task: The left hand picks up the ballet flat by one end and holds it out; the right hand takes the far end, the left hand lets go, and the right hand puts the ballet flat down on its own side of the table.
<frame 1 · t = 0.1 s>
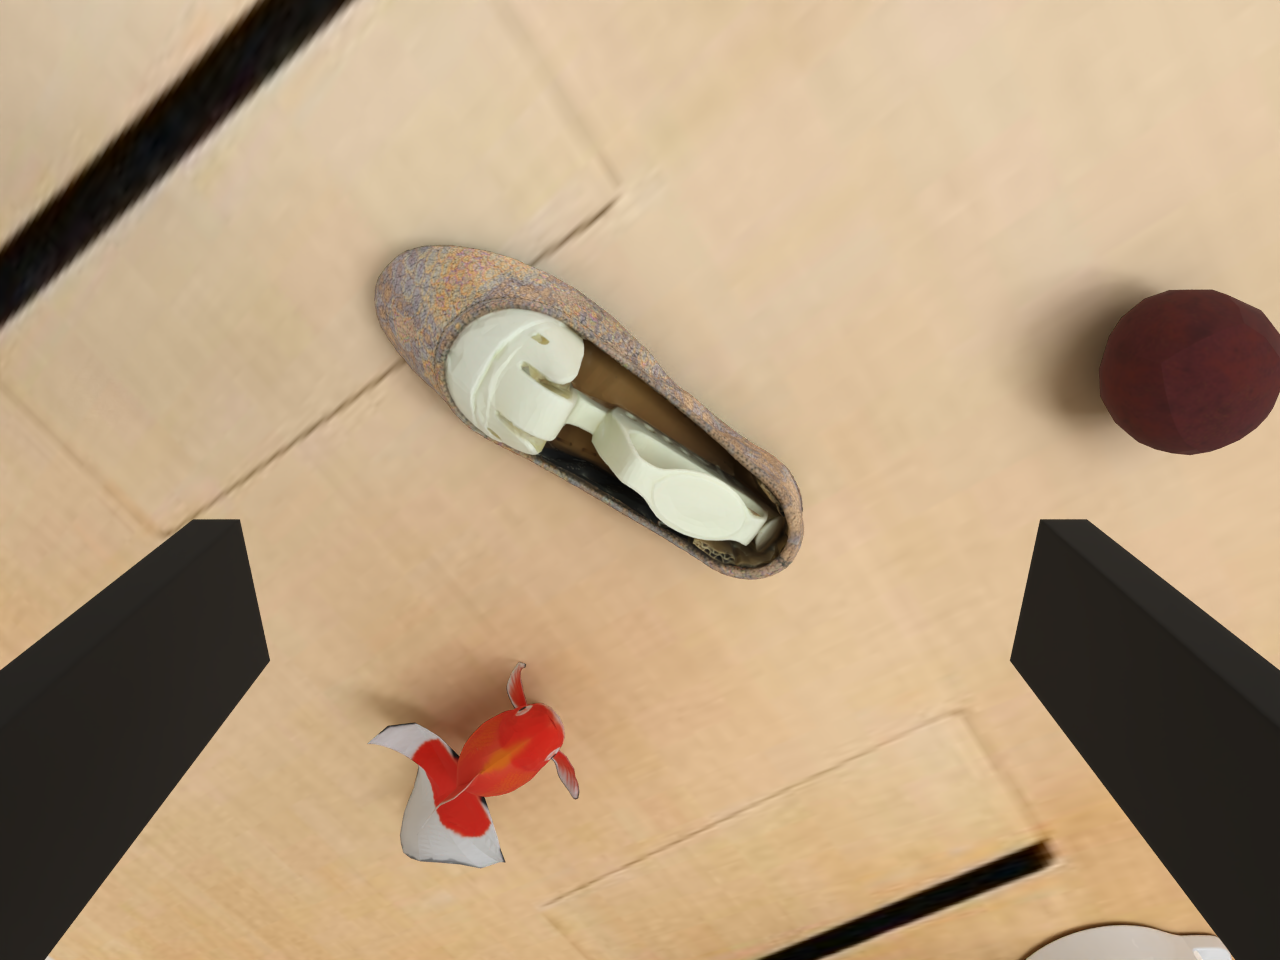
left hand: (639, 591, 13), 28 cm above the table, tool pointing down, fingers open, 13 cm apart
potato: (1140, 352, 40), on the table
fish: (486, 733, 49), on the table
ballet flat: (605, 394, 40), on the table
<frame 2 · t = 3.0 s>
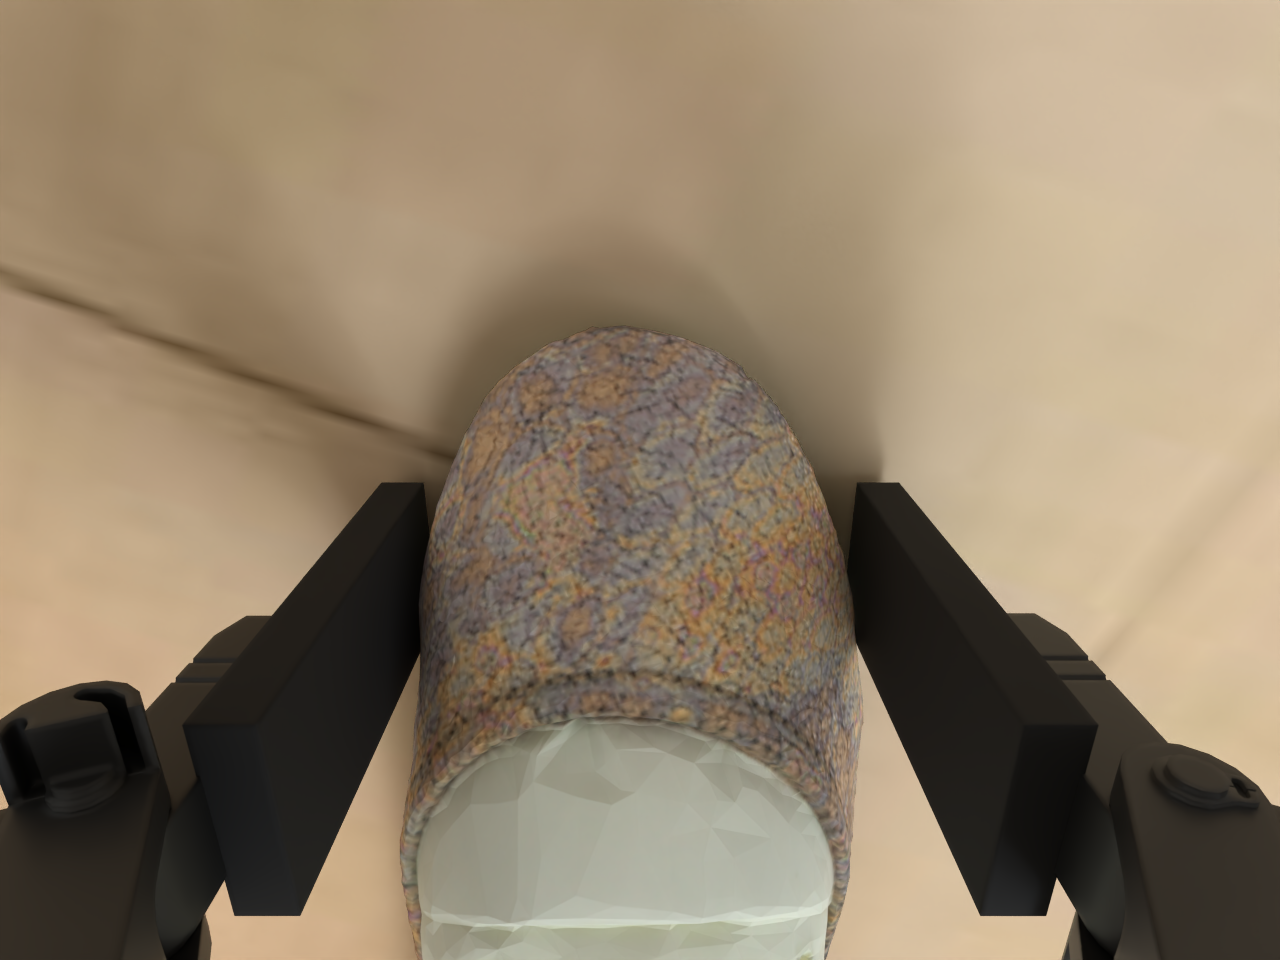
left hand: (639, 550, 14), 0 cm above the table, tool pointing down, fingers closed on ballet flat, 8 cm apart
ballet flat: (636, 851, 18), on the table, touching left hand
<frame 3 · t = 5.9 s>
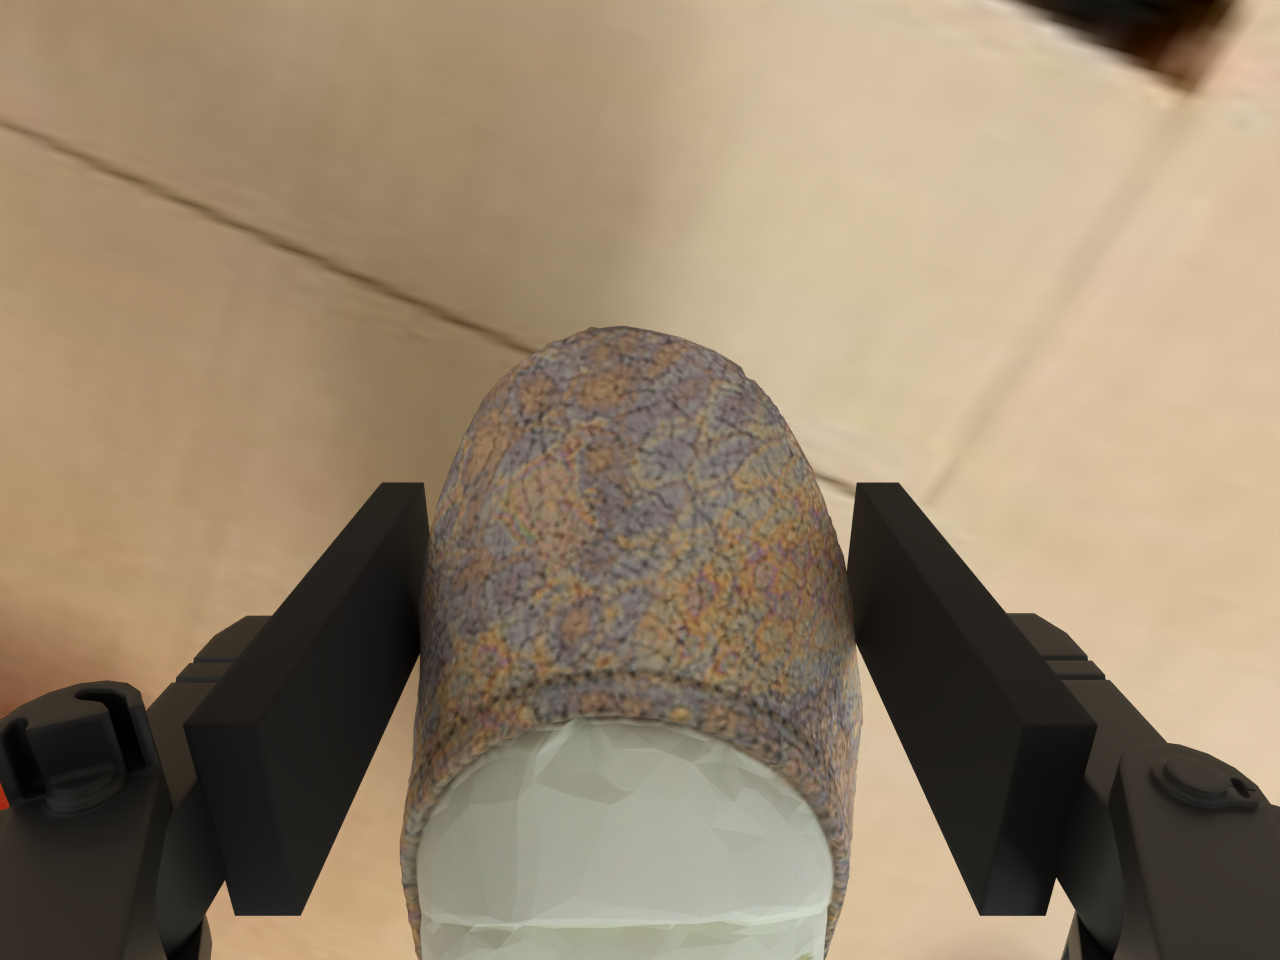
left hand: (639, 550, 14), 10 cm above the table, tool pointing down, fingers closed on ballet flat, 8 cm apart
ballet flat: (636, 851, 18), point 9 cm above the table, touching left hand
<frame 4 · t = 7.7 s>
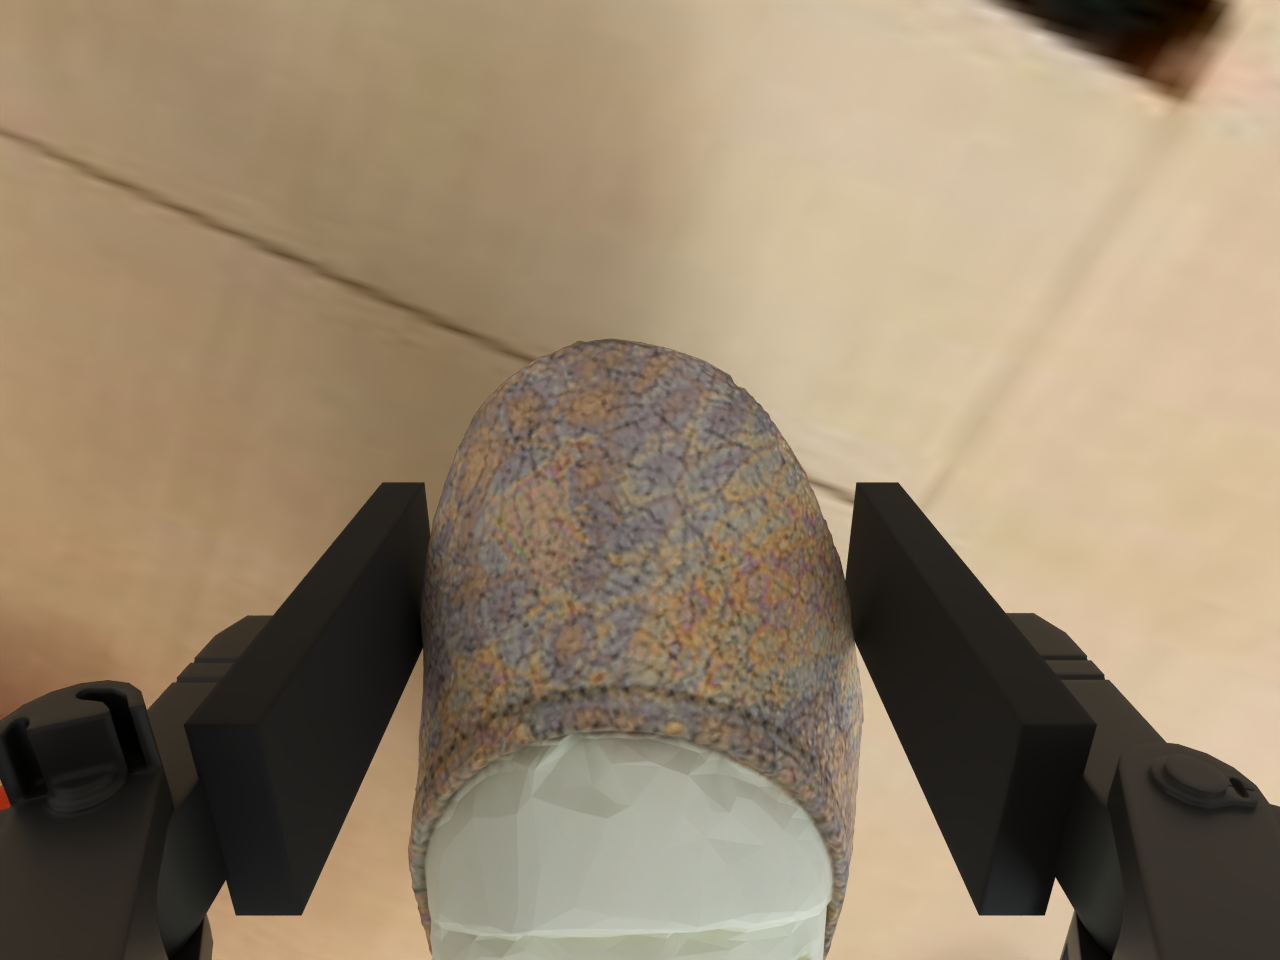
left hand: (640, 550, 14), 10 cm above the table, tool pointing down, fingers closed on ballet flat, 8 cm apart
ballet flat: (647, 840, 18), point 9 cm above the table, touching left hand, right hand
when the left hand's fingers open (10 cm above the table, at t = 8.7 s): ballet flat stays where it is, held by the right hand.
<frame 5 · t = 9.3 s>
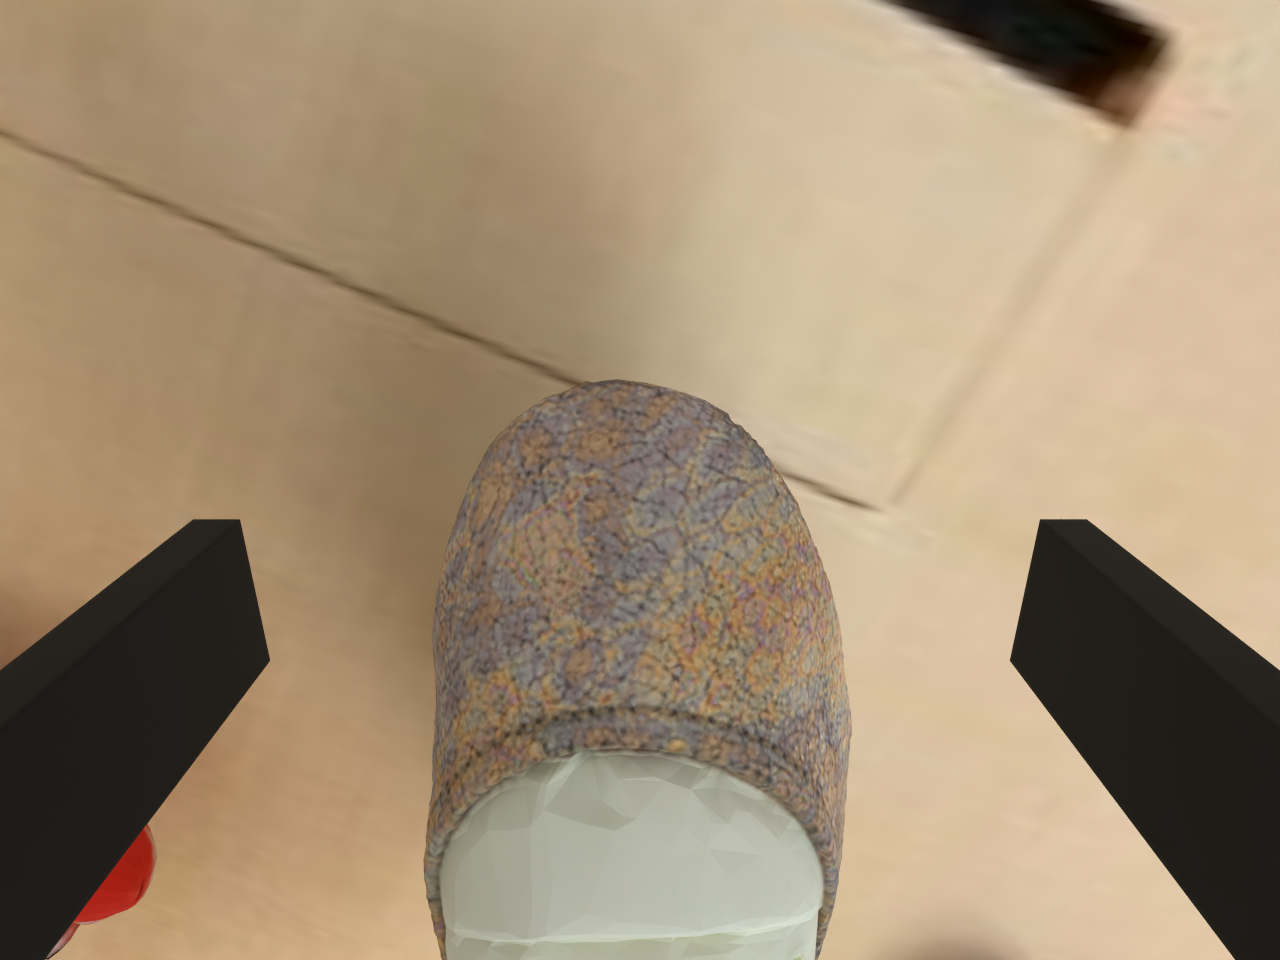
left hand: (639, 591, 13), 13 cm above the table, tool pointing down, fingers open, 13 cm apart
fish: (23, 726, 29), on the table
ballet flat: (644, 850, 19), point 10 cm above the table, touching right hand
when the right hand's fingers open (4 cm above the table, at t = 17.3 s): ballet flat stays where it is, on the table.
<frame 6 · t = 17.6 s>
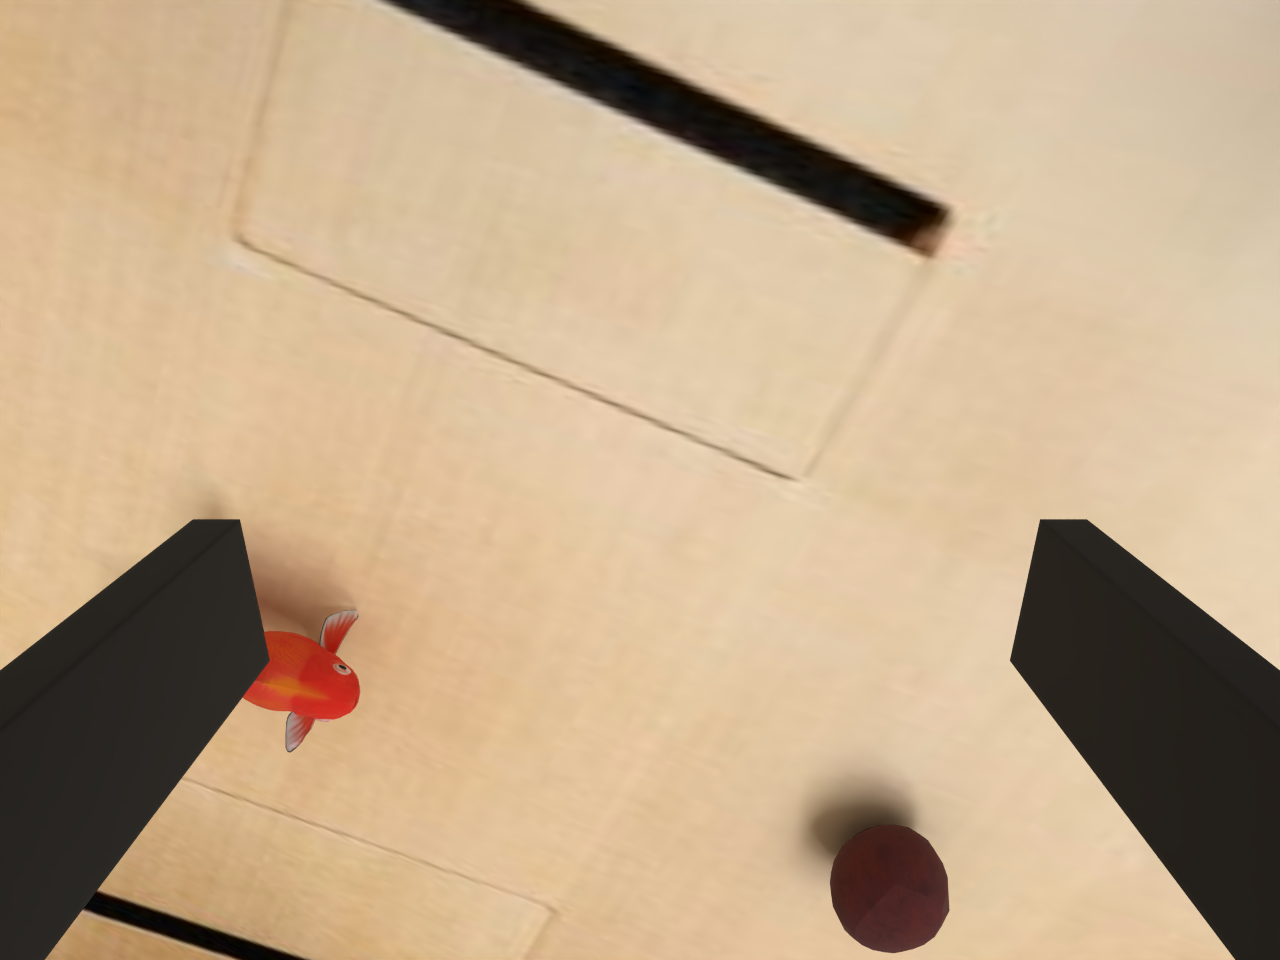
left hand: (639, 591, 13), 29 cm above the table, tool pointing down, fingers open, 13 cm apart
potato: (874, 840, 53), on the table
fish: (259, 618, 46), on the table
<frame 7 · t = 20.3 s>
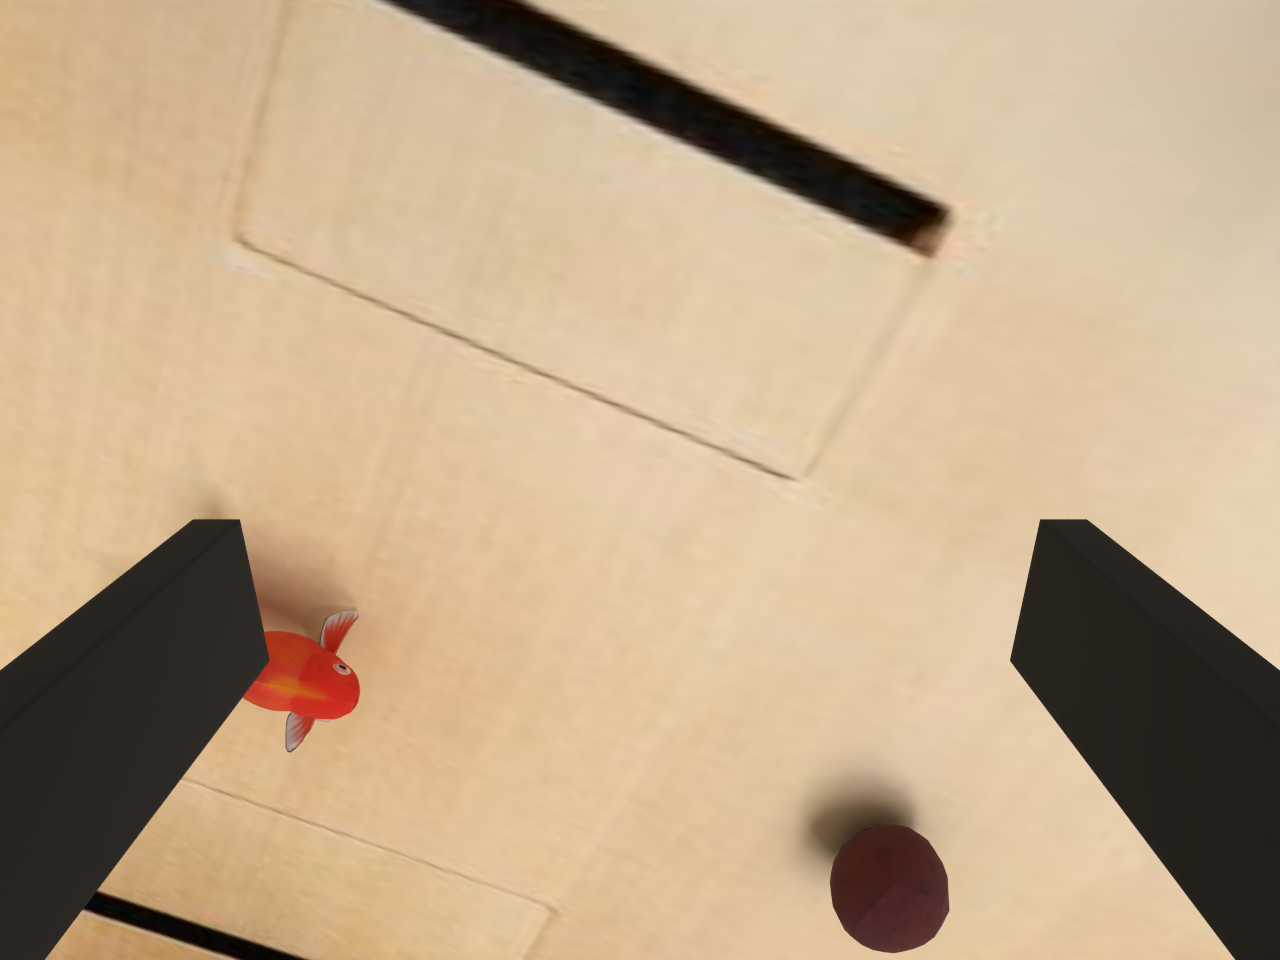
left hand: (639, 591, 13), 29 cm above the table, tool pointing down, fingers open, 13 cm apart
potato: (874, 840, 53), on the table
fish: (259, 618, 46), on the table
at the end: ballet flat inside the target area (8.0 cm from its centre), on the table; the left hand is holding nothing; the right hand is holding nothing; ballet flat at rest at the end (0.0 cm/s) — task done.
